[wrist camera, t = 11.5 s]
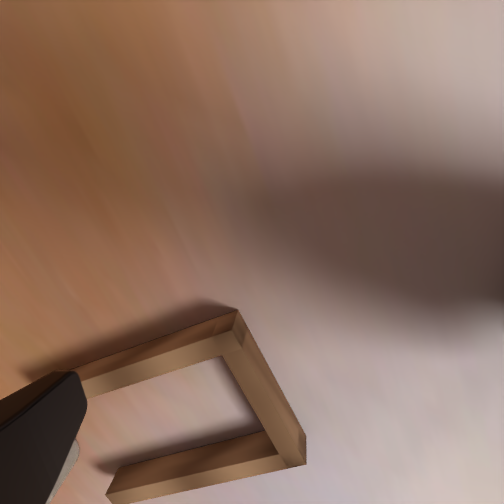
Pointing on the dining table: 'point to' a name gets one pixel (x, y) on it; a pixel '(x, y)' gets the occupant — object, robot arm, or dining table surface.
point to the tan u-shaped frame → (215, 455)
